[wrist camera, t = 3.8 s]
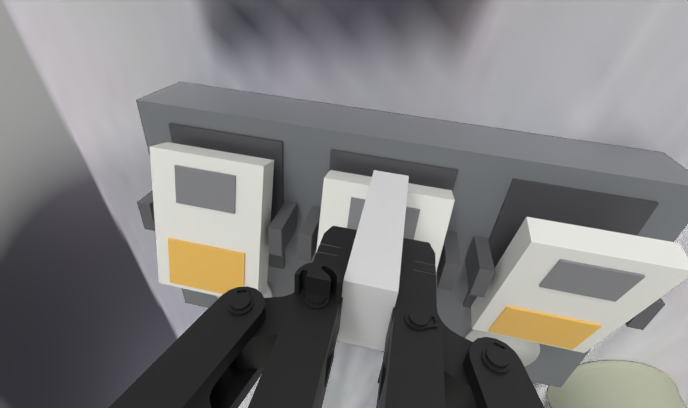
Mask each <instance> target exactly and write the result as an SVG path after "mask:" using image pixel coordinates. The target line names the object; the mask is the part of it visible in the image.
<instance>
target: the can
mask: <svg viewBox="0 0 688 408" xmlns="http://www.w3.org/2000/svg"><path fill="white" fill-rule="evenodd" d="M547 397H548V401H549V403H550V405H551V406H552V408H687V407H686V405H685V404H684V402H683V400H682V398H681V396H680V394H679V391H678V388H677V386H676V384H675V383H674V382H673V380H672V379H671V378H670V377H669V376H667V375H666V374H665V373H663V372H661V371H660V370H658V369H656V368H653V367H651V366H648V365H645V364H641V363H637V362H630V361H621V360H604V361H595V362H589V363H584V364H581V365H578V366H577V367H576V369H575V370H574V371H573V373H572V374H571V375H570V376H569V378H568V379H567V380H566V382H565V383H564V384H563V385H562V387H561V388H559V387H555V386H550V385H549V387H548V391H547Z"/></svg>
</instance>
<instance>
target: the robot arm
mask: <svg viewBox="0 0 688 408" xmlns="http://www.w3.org/2000/svg"><path fill="white" fill-rule="evenodd" d="M408 181H409V176H407V175H401V174H395V173H389V172H383V171H377V170H374V171H373V175H372V178H371V182H370V186H369V189H368V193H367V196H366V200H365V204H364V207H363V211H362V215H361V218H360V222H359V226H358V229H357V230H354V229H349V228H343V227H338V226H332V227H331V228H330V229H328V230H327V231H326V232H325V233H324V235H323V237H322V240H321V242H320V245H319V247H318V250H317V253H316V255H315V257H314V260H313V262H311V263H307V264H305V265H303V266H301V267H300V268H299V269H298V270H297V271H296V273H295V274H294V293H292V294H289V295H287V296H282V297H270V298H264V297H263V295H262V293H261V292H260V291H258V290H257V289H255V288H251V287H247V286H246V287H236V288H234V289H231V290H228V291H227V292H226V293H224V294H223V295H221V296H220V297H219V298H218V299H217V300H216V301H215V302H214V303H213V304H212V305H211V306H210V307H209V308H208V309H207V310H206V311H205V312H204V313H203V314H202V315H201V316H200V317H199V318H198V319H197V320H196V321H195V322H194V323H193V324H192V325H191V326H190V327H189V328H188V329H187V330H186V331H185V332H184V333H183V334H182V335H181V336H180V337H179V338H178V339H177V340H176V341H175V342H174V343H173V344H172V345H171V346H170V347H169V348H168V349H167V350H166V351H165V352H164V353H163V354H162V355H161V356H160V357H159V358H158V359H157V360H156V361H155V362H154V363H153V364H152V365H151V366H150V367H149V368H148V369H147V370H146V371H145V372H144V373H143V374H142V375H141V376H140V377H139V378H138V379H137V380H136V381H135V382H134V383H133V384H132V385H131V386H130V387H129V388H128V389H127V390H126V391H125V392H124V393H123V394H122V395H121V396H120V397H119V398H118V399H117V400H116V401H115V402H114V403H113V404H112V405H111V406H110V407H109V408H238V407H239V406H240V404H241V403H242V401H243V400H244V398H245V397H246V396H247V394H248V393H249V391H250V390H251V388H252V387H253V386H254V384H255V383H256V381H257V380H258V378H259V377H260V376H261V377H260V380H259V382H258V385H257V387H256V390H255V392H254V394H253V397H252V399H251V402H250V404H249V407H248V408H322V404H323V400H324V395H325V391H326V387H327V383H328V379H329V375H330V371H331V366H332V362H333V358H334V349H335V344H336V340H337V341H338V342H343V343H347V344H352V345H356V346H360V347H365V348H369V349H374V350H378V351H382V352H384V357H383V363H382V367H381V371H380V375H379V379H378V383H379V390H378V398H377V406H376V408H544V406H543V404H542V402H541V400H540V398H539V396H538V394H537V392H536V390H535V388H534V386H533V384H532V382H531V380H530V378H529V375H528V373H527V371H526V369H525V367H524V365H523V363H522V361H521V359H520V358H519V356H518V355H517V354H516V352H515V351H514V350H513V349H512V348H511V347H509V346H508V345H507V344H506V343H504V342H502V341H500V340H498V339H496V338H490V337H482V338H477V339H476V340H475V341H474V342H472V341H470V340H468V339H466V338H464V337H462V336H460V335H458V334H456V333H455V332H453V331H451V330H450V329H449V328H448V327H447V326H446V325H445V324H444V323H443V322H442V320H441V319H440V317H439V315H438V312H437V298H436V275H435V274H436V266H435V264H436V262H435V252H434V250H433V248H432V247H431V245H430V243H429V242H423V241H418V240H412V239H407V238H403V236H404V225H405V214H406V203H407V192H408ZM261 374H262V375H261Z"/></svg>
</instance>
